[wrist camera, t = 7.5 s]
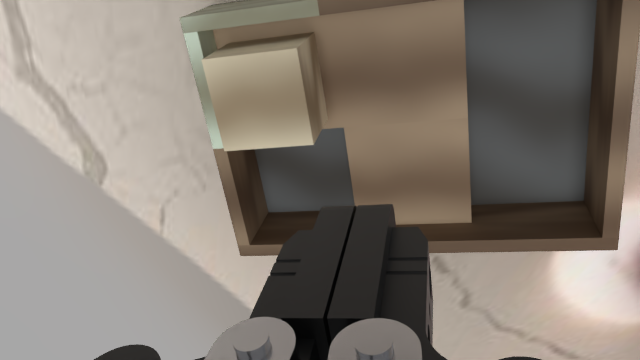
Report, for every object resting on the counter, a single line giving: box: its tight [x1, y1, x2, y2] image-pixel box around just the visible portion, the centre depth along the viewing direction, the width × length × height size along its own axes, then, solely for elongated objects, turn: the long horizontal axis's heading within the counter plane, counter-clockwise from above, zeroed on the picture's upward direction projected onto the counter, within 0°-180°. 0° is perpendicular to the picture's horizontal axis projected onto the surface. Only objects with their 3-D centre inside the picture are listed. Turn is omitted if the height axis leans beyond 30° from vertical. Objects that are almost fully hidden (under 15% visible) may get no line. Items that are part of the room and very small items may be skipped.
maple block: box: [202, 32, 328, 151], centre depth 29 cm, size 5×5×4 cm
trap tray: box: [180, 0, 640, 256], centre depth 30 cm, size 15×22×4 cm
